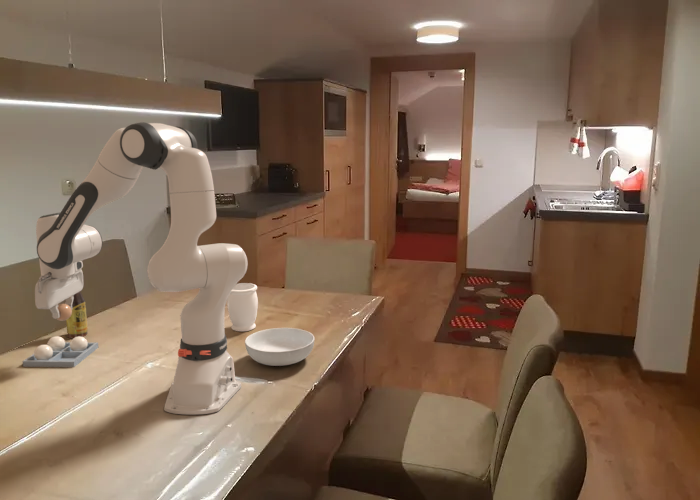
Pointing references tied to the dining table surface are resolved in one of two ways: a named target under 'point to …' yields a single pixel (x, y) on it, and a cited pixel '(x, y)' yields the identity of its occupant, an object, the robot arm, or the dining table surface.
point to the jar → (243, 306)
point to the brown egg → (64, 311)
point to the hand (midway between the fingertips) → (62, 314)
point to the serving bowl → (279, 346)
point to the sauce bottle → (77, 318)
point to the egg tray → (62, 357)
